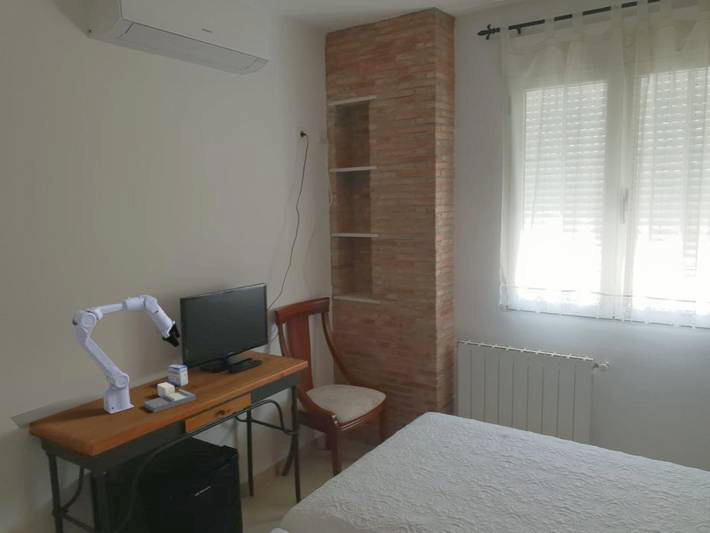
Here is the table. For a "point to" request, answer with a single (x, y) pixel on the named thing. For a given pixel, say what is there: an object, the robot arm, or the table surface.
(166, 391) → the cream white block
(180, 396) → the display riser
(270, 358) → the table surface
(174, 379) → the medicine box
